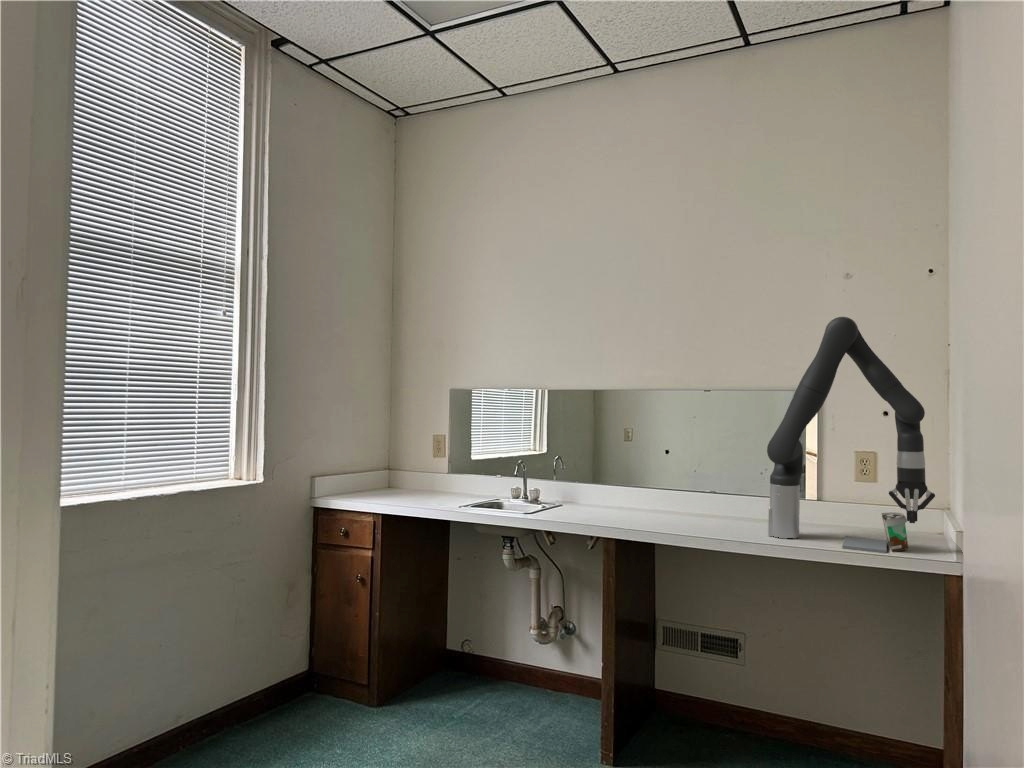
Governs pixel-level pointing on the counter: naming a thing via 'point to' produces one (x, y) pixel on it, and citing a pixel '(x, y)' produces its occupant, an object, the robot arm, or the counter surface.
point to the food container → (895, 530)
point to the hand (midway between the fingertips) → (912, 522)
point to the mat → (865, 544)
